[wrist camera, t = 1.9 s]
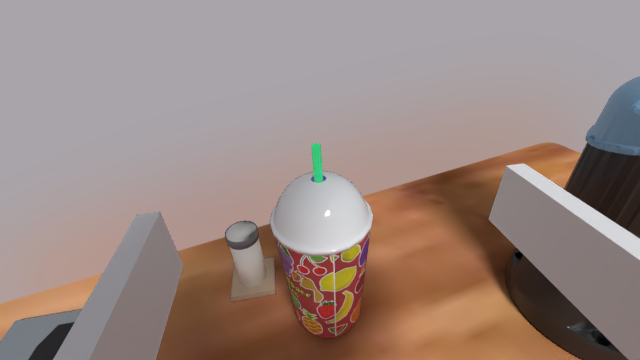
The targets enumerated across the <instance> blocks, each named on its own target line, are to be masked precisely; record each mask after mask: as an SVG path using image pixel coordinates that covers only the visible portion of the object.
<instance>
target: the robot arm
mask: <svg viewBox="0 0 640 360" xmlns="http://www.w3.org/2000/svg"><path fill="white" fill-rule="evenodd" d="M586 141H587V144H586V146H585V148H584V150H583V152H582V154H581V156H580V158H579V160H578V162H577V164H576V166H575V168H574V170H573V172H572V174H571V176H570V178H569V180H568V182H567V184H566V186H565V188H564V189H562V188H561V187H559V186H558V185H556V184H555V183H553V182H552V181H550V180H549V179H547V178H546V177H544V176H542V175H541V174H539V173H538V172H536V171H535V170H533V169H532V168H530V167H529V166H527V165H525V164H516V165H509V166H506V168H505V171H504V174H503V177H502V180H501V183H500V186H499V189H498V192H497V195H496V198H495V201H494V204H493V207H492V210H491V213H490V216H489V219H488V220H489V221H490V222H491V223H492V224H493V225H494V226H495V227H496V228H497V229H498V230H499V231H500V232H501V233H502V234H503V235H504V236H505V237H506V238H507V239H508V240H509V241H510V242H511V243H512V244H513V245H514V246H515V247H516V248H515V249H514V250H513V252H512V254H511V256H510V259H509V261H508V263H507V266H506V270H505V280H506V285H507V288H508V291H509V293H510V295H511V297H512V299H513V301H514V302H515V304H516V305H517V307H518V308H519V309H520V311H521V312H522V313H523V314H524V316H525V317H526V318H527V319H528V320H529V321H530V322H531V323H532V324H533V325H534V326H535V327H536V328H537V329H538V330H539V331H540V332H542V333H543V334H544V335H545V336H546V337H548V338H549V339H550V340H552V341H553V342H554V343H556V344H557V345H559V346H560V347H562V348H563V349H565V350H567V351H568V352H570V353H572V354H573V355H575V356H577V357H579V358H581V359H583V360H640V77H637V78H634V79H632V80H630V81H628V82H626V83H625V84H623V85H622V86H620V87H619V88H618V89H617V90H616V91H615V92H614V93H613V94H612V95H611V97H610V98H609V100H608V102H607V103H606V105H605V107H604V109H603V111H602V112H601V114H600V116H599V118H598V120H597V122H596V124H595V125H593V126H592V127H591V128H590V129H589V130H588V132H587V135H586ZM183 267H184V265H183V263H182V261H181V258H180V256H179V254H178V251H177V249H176V247H175V245H174V242H173V240H172V238H171V235H170V233H169V231H168V229H167V226H166V224H165V222H164V219H163V217H162V215H161V213H160V212H153V213H146V214H138V215H136V217H135V219H134V221H133V222H132V224H131V226H130V228H129V229H128V231H127V233H126V235H125V236H124V238H123V240H122V241H121V243H120V245H119V247H118V248H117V250H116V252H115V254H114V255H113V257H112V259H111V261H110V262H109V264H108V266H107V267H106V269H105V271H104V272H103V274H102V276H101V278H100V279H99V281H98V283H97V285H96V286H95V288H94V290H93V291H92V293H91V295H90V297H89V298H88V300H87V302H86V304H85V305H84V307H83V309H82V310H81V312H80V314H79V316H78V317H77V319H76V321H75V322H72V323H66V324H60V325H58V326H57V327H56V328H55V329H54V330H53V331H52V332H51V333H50V334H49V335H48V336H47V337H46V338H45V339H44V340H43V341H42V342H40V343H39V344H38V345H37V347H36V348H35V350H34V351H33V353H32V354H31V356H30V358H29V359H28V360H156V358H157V354H158V351H159V348H160V344H161V341H162V337H163V334H164V331H165V327H166V324H167V321H168V317H169V314H170V310H171V307H172V304H173V300H174V297H175V294H176V290H177V287H178V283H179V280H180V277H181V273H182V270H183Z"/></svg>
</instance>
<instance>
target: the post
mask: <svg viewBox="0 0 640 360" xmlns="http://www.w3.org/2000/svg"><path fill="white" fill-rule="evenodd" d="M225 238H226V241H227V244H228V246H229V247H230V250H231V253H232V256H233V259H234V269H233V278H232V288H231V300H232V302H233V301H239V300H245V299H250V298H256V297H262V296H267V295H273V294H276V281H275V260H274V257H269V258H263V254H262V250H261V246H260V242H259V233H258V229H257V226H256V224H255V223H253V222H251V221H240V222H237V223H235V224H233V225H231V226H230V227H229V228H228V229H227V230H226V232H225Z"/></svg>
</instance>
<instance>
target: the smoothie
mask: <svg viewBox="0 0 640 360" xmlns="http://www.w3.org/2000/svg"><path fill="white" fill-rule="evenodd" d="M312 156H313V170H314V172H310V173H306V174H304V175H302V176H300V177H298V178H296V179H295V180H294V181H292V182H291V183H290V184H289V185H288V186H287V187H286V189H285V190H284V192H283V193H282V195H281V196H280V198H279V200H278V202H277V205H276V207H275V208H274V210H273V211H272V214H271V219H270V226H271V229H272V232H273V235H274V237H275V241H276V244H277V248H278V251H279V255H280V258H281V262H282V266H283V269H284V273H285V276H286V280H287V283H288V287H289V290H290V294H291V297H292V301H293V304H294V308H295V311H296V315H297V318H298V320H299V322H300V324H301V325H302V326H303V327H304V328H305V329H306V330H307V331H309V332H311V333H312V334H314V335H316V336H318V337H322V338H335V337H338V336H340V335H342V334H344V333H345V332H347V331H348V330H349V329H350V328H351V327H352V326H354V325H355V323H356V321H357V319H358V317H359V314H360V308H361V299H362V292H363V284H364V276H365V268H366V261H367V253H368V245H369V238H370V230H371V225H372V220H373V214H372V210H371V207H370V205H369V204H368V203H367V202H366V201H365V199H364V198H363V196H362V194H361V193H360V191H359V190H358V189H357V188H356V187H355V186H354V185H353V183H352V182H350V181H349V180H348V179H346V178H345V177H343V176H341V175H339V174H336V173H333V172H328V171H322V159H321V145H320V144H317V143H316V144H313V145H312Z"/></svg>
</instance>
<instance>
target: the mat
mask: <svg viewBox="0 0 640 360" xmlns="http://www.w3.org/2000/svg"><path fill="white" fill-rule="evenodd" d="M81 310H82V309H81ZM81 310H75V311H70V312H64V313H58V314H52V315H46V316H40V317H34V318H28V319H23V320H17V321H15V322H14V323H13V325H12V326H11V327H10V329H9V330H8V331H7V333H6V334H5V335H4V337H3V338H2V339H1V341H0V360H28V359H29V358H30V356H31V354H32V353H33V351H34V350H35V348H36V347H37V345H38V344H39V343H40V342H42V341H43V340H44V339H45V338H46V337H47V336H48V335H49V334H50V333H51V332H52V331H53V330H54V329H55V328H56V327H57V326H58V325H60V324H66V323H72V322H75V321H76V319H77V317H78V316H79V314H80V312H81Z"/></svg>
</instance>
